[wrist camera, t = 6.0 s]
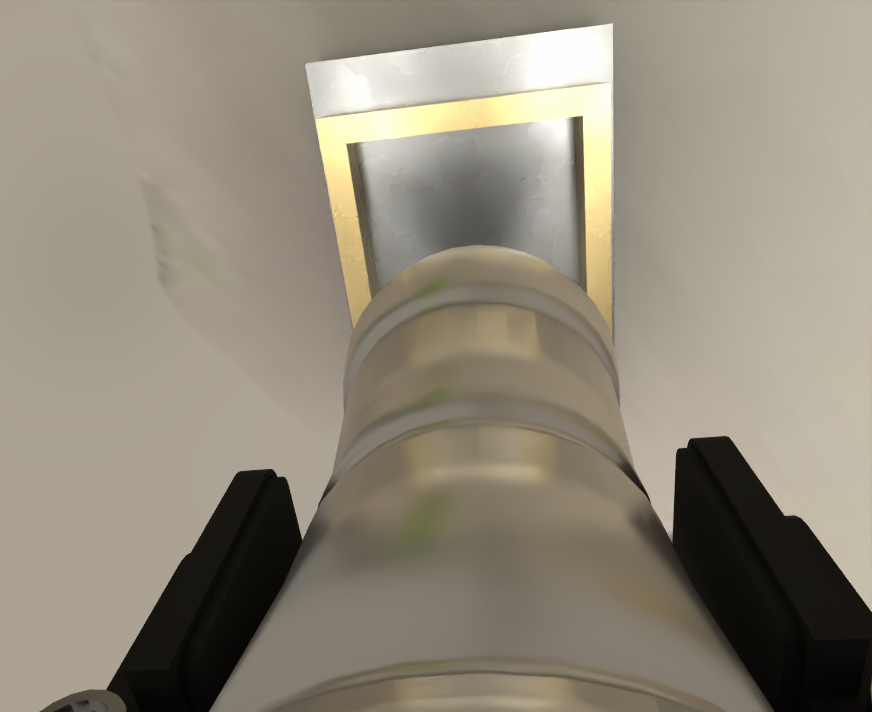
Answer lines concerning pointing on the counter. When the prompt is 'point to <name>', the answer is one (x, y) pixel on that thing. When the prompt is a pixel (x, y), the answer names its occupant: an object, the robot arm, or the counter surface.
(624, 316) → the counter surface
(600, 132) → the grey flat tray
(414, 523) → the plastic bottle
